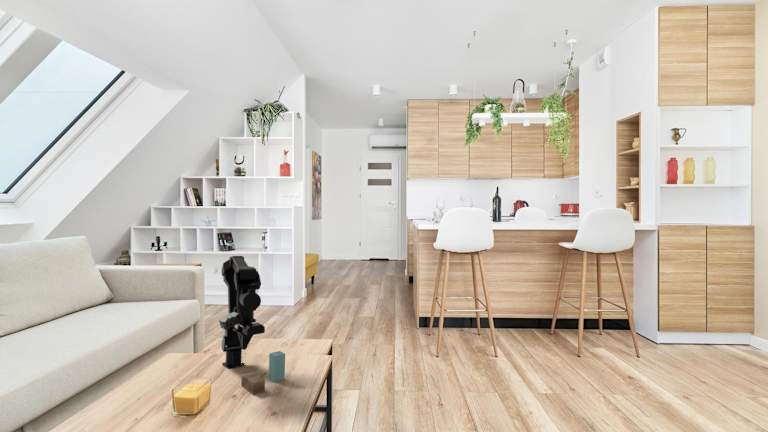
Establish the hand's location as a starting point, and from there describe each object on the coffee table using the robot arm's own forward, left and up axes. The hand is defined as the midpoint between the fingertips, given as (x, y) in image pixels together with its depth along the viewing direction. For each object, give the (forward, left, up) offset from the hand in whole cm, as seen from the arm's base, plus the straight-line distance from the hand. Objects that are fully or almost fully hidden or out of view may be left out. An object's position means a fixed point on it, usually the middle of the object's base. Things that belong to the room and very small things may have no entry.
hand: (243, 349), depth 140 cm
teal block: (+5, +10, -11) cm, 16 cm away
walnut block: (+3, 0, -9) cm, 10 cm away
